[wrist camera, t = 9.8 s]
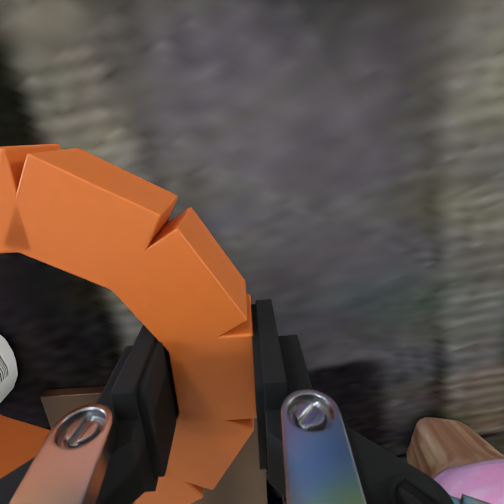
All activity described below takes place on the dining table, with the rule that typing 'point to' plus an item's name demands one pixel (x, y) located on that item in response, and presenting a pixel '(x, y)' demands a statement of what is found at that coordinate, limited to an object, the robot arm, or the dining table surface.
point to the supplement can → (7, 369)
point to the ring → (140, 298)
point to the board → (217, 500)
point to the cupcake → (457, 459)
